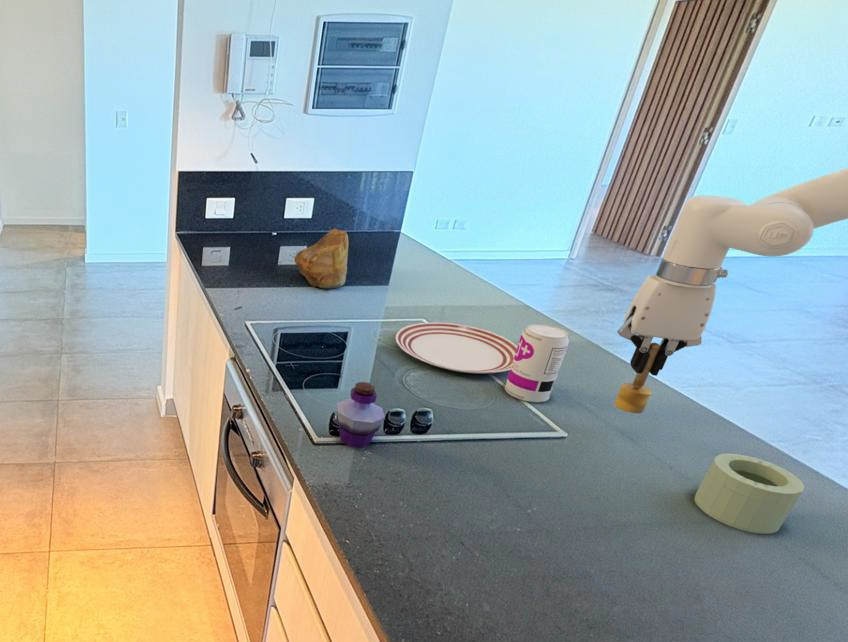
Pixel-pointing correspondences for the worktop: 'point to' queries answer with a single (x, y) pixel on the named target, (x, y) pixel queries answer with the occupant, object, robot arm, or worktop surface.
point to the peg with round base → (637, 387)
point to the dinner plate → (457, 347)
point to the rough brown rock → (325, 260)
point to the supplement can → (537, 362)
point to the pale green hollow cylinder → (748, 493)
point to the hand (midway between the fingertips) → (643, 370)
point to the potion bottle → (359, 416)
